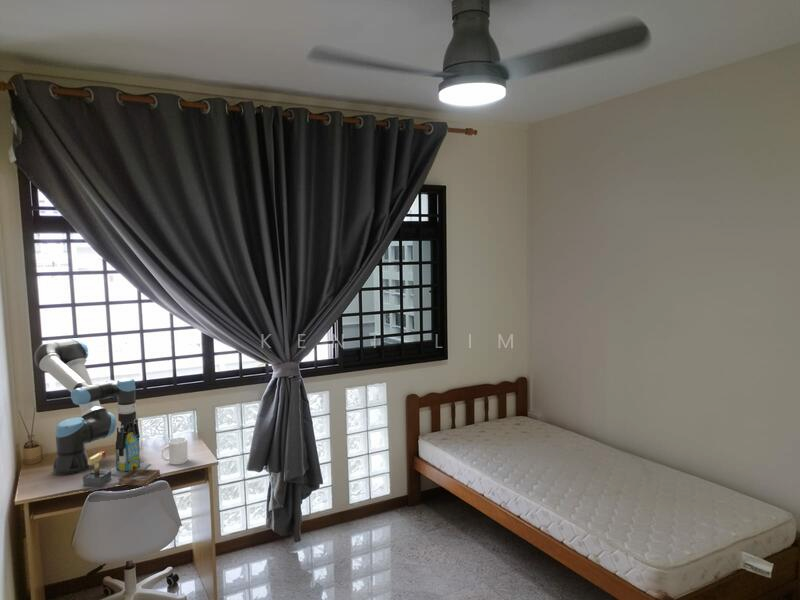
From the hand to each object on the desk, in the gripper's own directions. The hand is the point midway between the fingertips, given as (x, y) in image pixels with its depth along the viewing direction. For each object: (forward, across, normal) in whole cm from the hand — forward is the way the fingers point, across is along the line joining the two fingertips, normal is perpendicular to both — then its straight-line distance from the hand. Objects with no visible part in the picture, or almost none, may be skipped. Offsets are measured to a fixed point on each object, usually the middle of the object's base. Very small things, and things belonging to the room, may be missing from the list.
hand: (128, 458), depth 263 cm
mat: (+6, 0, 0) cm, 6 cm away
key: (+1, -15, +6) cm, 16 cm away
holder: (+6, -10, -11) cm, 16 cm away
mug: (+6, +11, -17) cm, 21 cm away
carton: (+5, 0, 0) cm, 5 cm away
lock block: (+6, -15, +6) cm, 17 cm away
